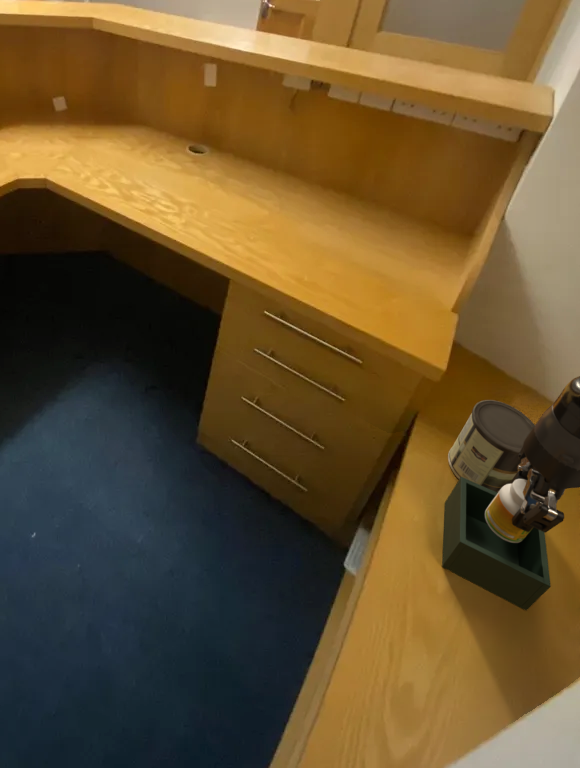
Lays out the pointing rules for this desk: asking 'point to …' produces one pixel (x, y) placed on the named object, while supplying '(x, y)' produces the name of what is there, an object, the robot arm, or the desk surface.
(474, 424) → the coffee can
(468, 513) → the bin
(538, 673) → the desk surface
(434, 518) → the desk surface
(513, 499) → the supplement bottle
